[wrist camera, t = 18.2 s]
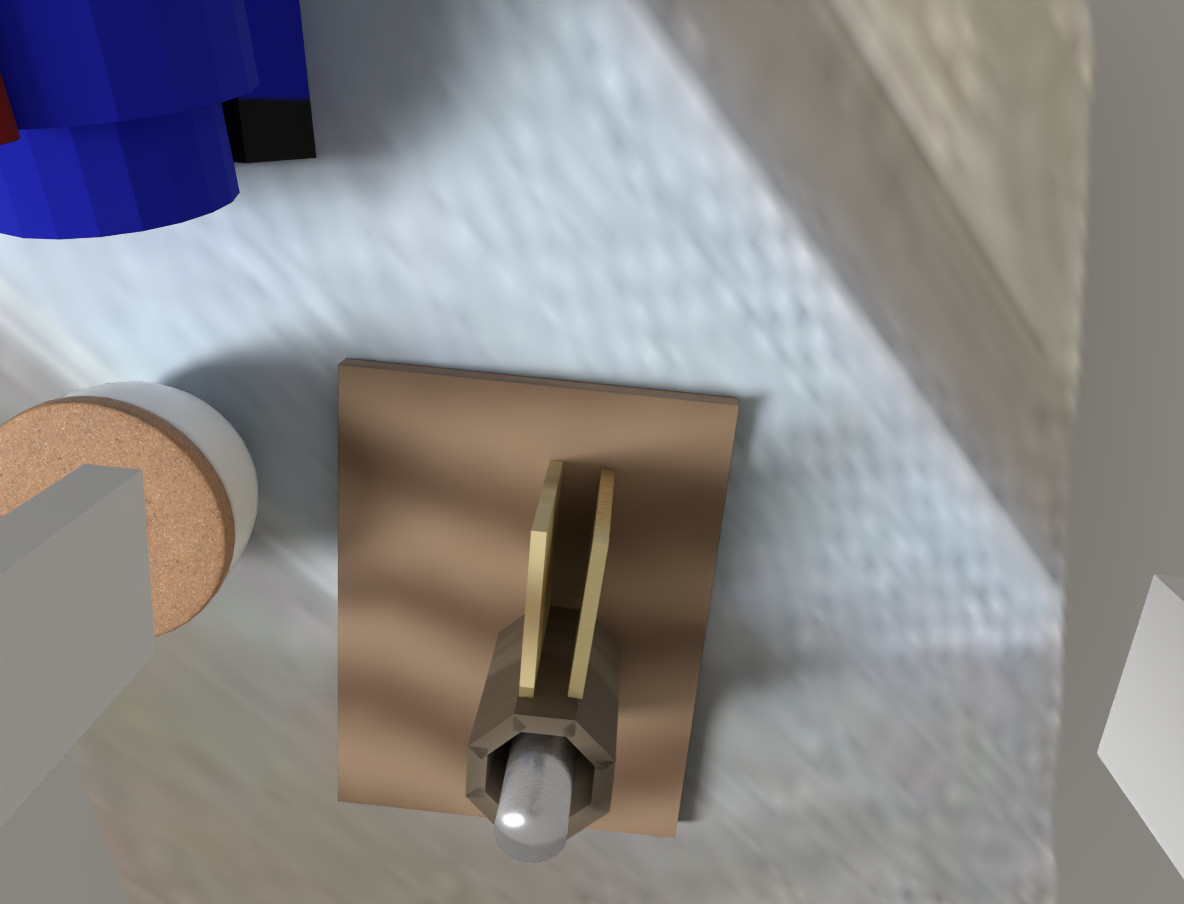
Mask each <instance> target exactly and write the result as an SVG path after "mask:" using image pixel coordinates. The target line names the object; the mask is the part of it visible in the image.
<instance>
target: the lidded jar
mask: <svg viewBox="0 0 1184 904" xmlns="http://www.w3.org/2000/svg"><path fill="white" fill-rule="evenodd" d="M83 464H92V465H102V466H112V467H121V468H131V469H141V470H143V484H144V498H145V512H146V526H147V539H148V553H149V567H150V581H151V595H152V609H153V622H154V636H155V637H156V636H159V635H162V634H165V633H167V632H170V631H173V630H175V629H177V628H178V627H180V626H182V625H184V624H185V623H187V622H189V621H190V620H191V619H192V618H193V617H195V616H196V615H197V614H198V613H199V612H201V611H202V610H203V609H204V608H205V606H206V605H207V604H208V603H209V601H210V600H211V599H212V598H213V597H214V595H215V594H216V593H217V592H218V590H219V589H220V587H221V585H222V583H223V581H224V580H225V579H226V577H227V576H228V575H229V574H230V572H231V571H232V570H233V568H234V567H235V566H236V564H237V562H238V560H239V558H240V556H241V555H242V553H243V551H244V549H245V547H246V545H247V543H248V542H249V538H250V535H251V532H252V529H253V526H254V523H255V520H256V516H257V508H258V481H257V476H256V471H255V466H254V464H253V461H252V458H251V456H250V453H249V451H248V449H247V447H246V445H245V443H244V442H243V440H242V438H241V437H240V435H239V434H238V433H237V431H236V430H235V429H234V427H233V426H232V425H231V424H230V423H229V422H228V421H227V420H226V419H225V418H224V417H223V416H222V415H221V414H220V413H219V412H218V411H217V410H215V409H214V408H213V407H211V406H210V405H209V404H208V403H206V402H204V401H203V400H201V399H199V398H197V397H196V396H194V395H192V394H190V393H187V392H185V391H182V390H180V389H177V388H174V387H169V386H165V385H161V384H157V383H151V382H140V381H129V382H114V383H105V384H101V385H97V386H92V387H88V388H84V389H80V390H76V391H74V392H72V393H69V394H67V395H65V396H62V397H60V398H57V399H55V400H50V401H46V402H44V403H41V404H39V405H37V406H34V407H32V408H30V409H27V410H25V411H23V412H21V413H19V414H18V415H16V416H15V417H13V418H12V419H10V420H9V421H7V422H6V423H4V424H3V425H2V426H1V427H0V518H2V517H3V516H5V515H6V514H8V513H9V512H11V511H12V510H14V509H15V508H17V507H19V506H20V505H22V504H23V503H25V502H26V501H28V500H29V499H31V498H32V497H34V496H36V495H37V494H39V493H40V492H42V491H43V490H45V489H46V488H48V487H49V486H51V485H52V484H54V483H56V482H57V481H59V480H60V479H62V478H63V477H65V476H66V475H68V474H69V473H71V472H73V471H74V470H76V469H77V468H79V467H80V466H82V465H83Z"/></svg>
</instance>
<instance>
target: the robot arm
mask: <svg viewBox="0 0 1184 904" xmlns="http://www.w3.org/2000/svg"><path fill="white" fill-rule="evenodd" d="M155 653H156V650H155V636H154V622H153V609H152V595H151V581H150V567H149V553H148V539H147V526H146V512H145V498H144V484H143V470H141V469H131V468H121V467H112V466H102V465H92V464H83V465H82V466H80V467H79V468H77V469H76V470H74V471H73V472H71V473H69V474H68V475H66V476H65V477H63V478H62V479H60V480H59V481H57V482H56V483H54V484H52V485H51V486H49V487H48V488H46V489H45V490H43V491H42V492H40V493H39V494H37V495H36V496H34V497H32V498H31V499H29V500H28V501H26V502H25V503H23V504H22V505H20V506H19V507H17V508H15V509H14V510H12V511H11V512H9V513H8V514H6V515H5V516H3V517H2V518H0V828H1V827H2V826H3V825H4V823H5V822H6V821H7V820H8V819H9V818H10V817H11V816H12V814H13V813H14V812H15V811H16V810H17V809H18V807H19V806H20V805H21V804H22V803H23V802H24V801H25V800H26V799H27V797H28V796H29V795H30V794H31V793H32V792H33V791H34V789H35V788H36V787H37V786H38V785H39V784H40V783H41V782H42V781H43V779H44V778H45V777H46V776H47V775H48V774H49V773H50V772H51V770H52V769H53V768H54V767H55V766H56V765H57V764H58V762H59V761H60V760H61V759H62V758H63V757H64V756H65V755H66V753H67V752H68V751H69V750H70V749H71V748H72V747H73V746H74V744H75V743H76V742H77V741H78V740H79V739H80V738H81V737H82V735H83V734H84V733H85V732H86V731H87V730H88V729H89V727H90V726H91V725H92V724H93V723H94V722H95V721H96V720H97V718H98V717H99V716H100V715H101V714H102V713H103V712H104V711H105V709H106V708H107V707H108V706H109V705H110V704H111V703H112V702H113V700H114V699H115V698H116V697H117V696H118V695H119V694H120V693H121V691H122V690H123V689H124V688H125V687H126V686H127V685H128V683H129V682H130V681H131V680H132V679H133V678H134V677H135V676H136V674H137V673H138V672H139V671H140V670H141V669H142V668H143V667H144V665H145V664H146V663H147V662H148V661H149V660H150V659H151V658H152V656H153V655H154V654H155ZM1097 754H1098V755H1099V757H1100V758H1101V760H1102V761H1103V763H1104V764H1105V766H1106V767H1107V768H1108V770H1109V771H1110V773H1111V774H1112V775H1113V777H1114V778H1115V780H1116V781H1117V783H1118V784H1119V786H1120V787H1121V789H1122V790H1123V792H1124V793H1125V794H1126V796H1127V797H1128V799H1129V800H1130V802H1131V803H1132V805H1133V806H1134V808H1135V809H1136V810H1137V812H1138V813H1139V815H1140V816H1141V817H1142V819H1143V821H1144V822H1145V823H1146V825H1147V826H1148V828H1149V829H1150V831H1151V832H1152V834H1153V835H1154V836H1155V838H1156V839H1157V841H1158V842H1159V844H1160V845H1161V847H1162V848H1163V849H1164V851H1165V852H1166V854H1167V855H1168V857H1169V858H1170V860H1171V861H1172V862H1173V864H1174V865H1175V867H1176V868H1177V870H1178V871H1179V873H1180V874H1181V875H1182V877H1183V878H1184V577H1175V576H1164V575H1155V574H1154V577H1153V580H1152V583H1151V586H1150V589H1149V592H1148V596H1147V599H1146V602H1145V605H1144V608H1143V611H1142V614H1141V618H1140V621H1139V624H1138V627H1137V630H1136V633H1135V636H1134V639H1133V642H1132V646H1131V649H1130V652H1129V655H1128V658H1127V661H1126V665H1125V668H1124V671H1123V674H1122V677H1121V680H1120V683H1119V686H1118V689H1117V692H1116V696H1115V699H1114V702H1113V705H1112V708H1111V711H1110V714H1109V718H1108V721H1107V724H1106V727H1105V730H1104V733H1103V736H1102V739H1101V742H1100V746H1099V749H1098V752H1097Z"/></svg>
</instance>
